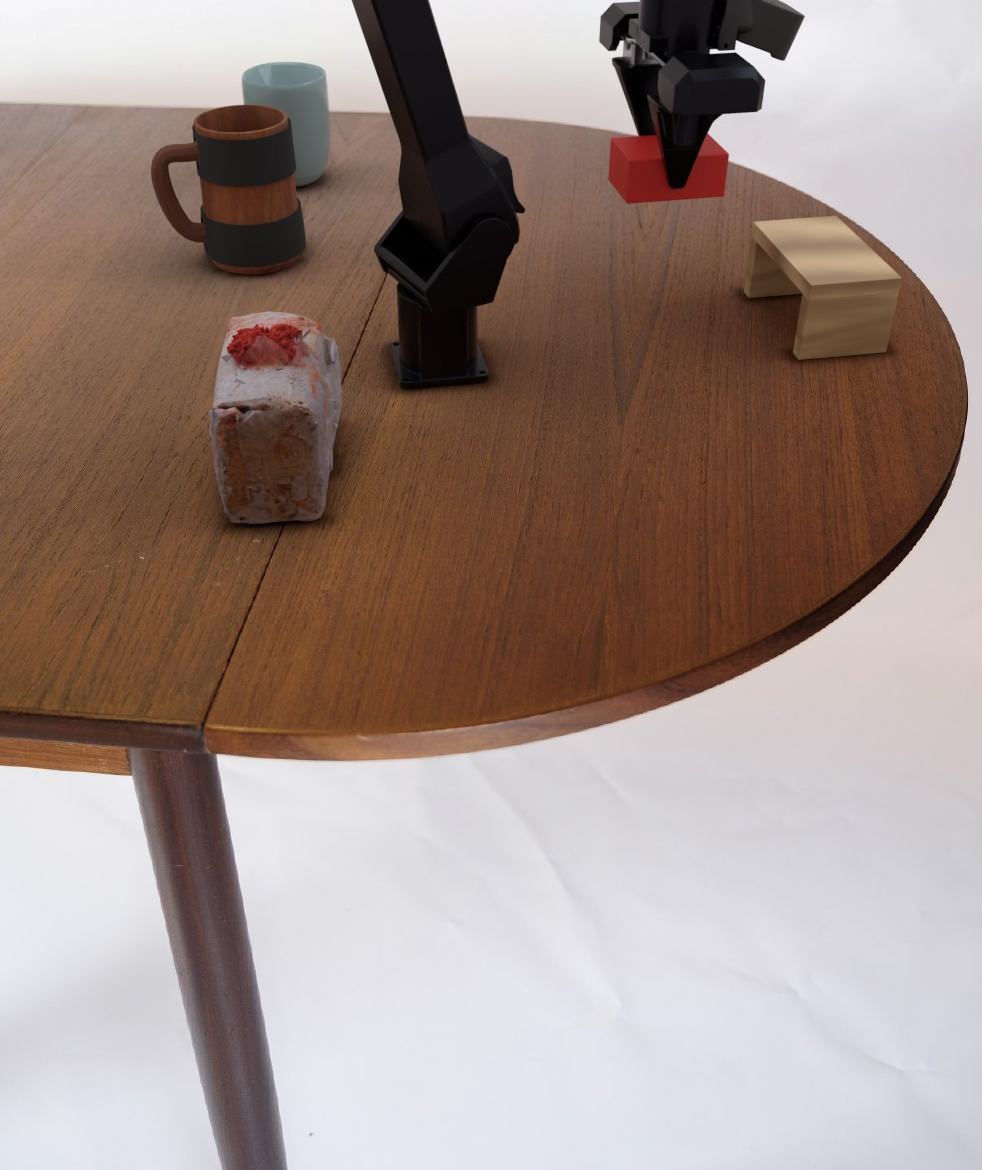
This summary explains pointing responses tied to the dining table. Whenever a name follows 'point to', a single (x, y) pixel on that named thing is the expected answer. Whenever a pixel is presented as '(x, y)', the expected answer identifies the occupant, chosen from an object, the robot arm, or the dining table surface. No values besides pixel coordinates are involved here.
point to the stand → (825, 284)
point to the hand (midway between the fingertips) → (665, 175)
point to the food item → (275, 418)
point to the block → (663, 171)
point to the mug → (239, 189)
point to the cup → (296, 109)
